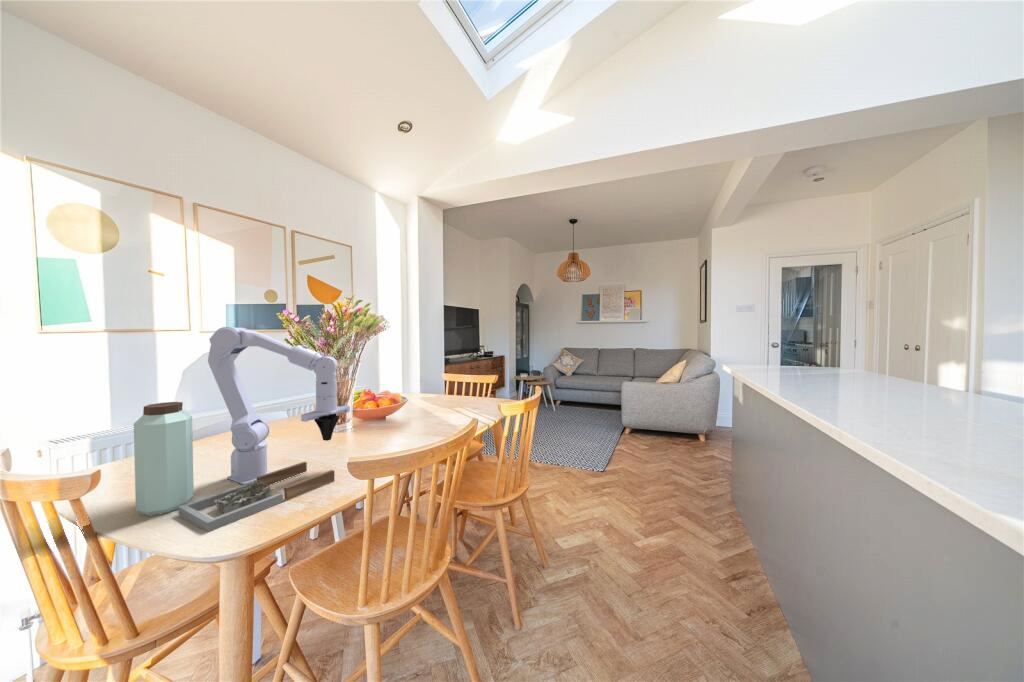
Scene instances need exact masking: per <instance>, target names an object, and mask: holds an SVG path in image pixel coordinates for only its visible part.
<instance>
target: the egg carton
mask: <svg viewBox="0 0 1024 682" xmlns="http://www.w3.org/2000/svg"><path fill="white" fill-rule="evenodd" d="M274 490H275V488H273V487H270V485H269V486H266V485H265V484H264V483H263V482H261V481H260V479H259V480H257V481H254V482H252V483H249V484H248V485H247V486H246V487H245V488H243V489H239V490H238V491H237V492H235V493H232V494H229V495H227V496H225V497H224V498H221V499H218V500H214V501H215V503H216V504H215V505H216V511H217V513H221V511H222V512H223V514H226V513H229V512H231V511H234V510H236V509H239V508H242V507H244V506H247V505H250V504H252V503H255V502H257V501H260V500H263V499H265V498H268V497H271V496H273V491H274Z"/></svg>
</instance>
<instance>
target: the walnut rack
mask: <svg viewBox="0 0 1024 682" xmlns="http://www.w3.org/2000/svg"><path fill="white" fill-rule="evenodd" d="M307 464H308V463H307V462H306V461H302V462H299V463H296V464H293V465H289V466H287V467H283V468H281V469H277V470H274V471H270V472H271V473H268V474H265V475H262V476H258V477H257V480H259V479H260V481H261V482H263V483H264V484H265V485H266V487H268V486H267V485H269V486H271V485H270V484H272V485H274V484H273V483H275V482H277V483H279V482H278V481H280V482H282V481H281V480H283V481H285V480H284V479H286V480H288V479H287V478H289V477H291V478H293V477H292V476H294V477H296V476H295V475H297V474H300V473H303V472H305V471H308V470H307V469H308V466H307ZM303 474H304V473H303ZM300 475H301V474H300ZM297 476H298V475H297ZM289 479H290V478H289ZM330 482H331V483H333V482H335V470H333V469H330V470H328V471H324V472H322V473H319V474H316V475H314V476H311V477H308V478H305V479H304V480H301V481H299V482H298V481H297V482H295V483H292V484H290V485H288V486H285V487H283V489H284V494H283V500H286V501H289V500H291V499H294V498H296V497H298V495H299V496H301V495H304V494H305V493H308V492H311V491H314V490H315V489H318V488H321V487H323V486H325V485H328V484H331V483H330ZM275 484H276V483H275ZM303 493H304V494H303ZM293 497H294V498H293Z"/></svg>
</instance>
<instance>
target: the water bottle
mask: <svg viewBox="0 0 1024 682" xmlns="http://www.w3.org/2000/svg"><path fill="white" fill-rule="evenodd" d="M183 404H184V403H183V401H182V402H181V401H168V402H167V401H166V402H158V403H157V402H156V403H152V404H151V403H150V404H147V405H145V406H143V414H142V415H141V416H140V417H139V418H138V419H137V420H136V421H135V422H134V423H133V446H134V447H133V452H134V453H133V454H134V455H133V456H134V488H135V493H134V494H135V510H136V511H137V512H139V513H140V514H142V515H145V516H148V515H149V517H150V515H152V516H156V515H155V514H158V515H161V514H160V513H164V514H167V513H166V512H169V513H171V512H173V511H172V510H174V511H176V510H179V509H178V508H179V506H182V505H185V504H188V503H190V501H189V500H191V499H192V498H193V497H194V495H195V494H194V491H195V490H194V489H195V488H194V454H193V453H194V448H193V447H194V445H193V442H194V441H193V416H192V415H190V414H189V413H188V412H186V411H184V410H183ZM175 509H176V510H175ZM170 511H171V512H170Z"/></svg>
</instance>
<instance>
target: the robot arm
mask: <svg viewBox="0 0 1024 682" xmlns="http://www.w3.org/2000/svg"><path fill="white" fill-rule="evenodd" d="M209 343H210V347H209V352H208V357H207V363H208V366H209V368H210V370H211V373H212V375H213V376H214V379H215V382H216V384H217V386H218V389H219V391H220V394H221V396H222V398H223V401H224V403H225V405H226V408H227V410H228V412H229V414H230V417H231V419H232V421H231V425H230V431H231V434H232V435H231V444H232V446H233V447H234V449H233V450H232V452H231V454H230V475H228V476H227V477H226V478H227V479H228V480H230V481H234V482H236V483H238V484H240V485H245V484H248V483H251V482H254V481H257V477H258V476H262V475H265V474H268V473H271V472H272V471H268V448H267V447H268V444H267V441H266V438H268V436H269V434H270V426H269V425H268V424H267V422H265V421H264V420H263V418H262V416H261V415H260V414H259V413H257V412H256V411H255V410H254V407H253V404H252V403H251V400H250V398H249V395H248V393H247V390H246V388H245V386H244V384H243V381H242V379H241V376H240V374H239V372H238V369H237V366H236V364H235V360H237V358H238V357H239V355H240V354H241V353H242V352H243V351H244V350H245V349H247V348H248V347H249V348H250V347H259V348H262V349H264V350H268V351H270V352H272V353H273V352H274V353H275V354H278V355H282V356H285V357H286V358H287V360H288V362H289V363H290V364H293V365H296V366H297V367H301V368H303V369H305V370H308V371H313V373H314V374H315V410H313V411H310V412H305V413H303V414H300V421H301V422H303V423H305V422H309V421H312V420H313V421H314V423H316V425H317V426H318V428H319V431H320V434H321V437H322V440H323V441H325V442H328V441H331V440H332V437H333V433H334V430H335V427H336V426H337V425H336V424H337V423H338V422H339V421H340V416H339V414H343V413H350V407H351V406H350V405H340V406H338V397H337V396H338V381H337V372H336V371H337V369H338V367H339V363H338V361H337V359H336V358H335V357H333V356H332V355H325V352H322V351H321V352H318V351H315V350H313V349H310V348H309V346H308V345H307V344H303V345H301V344H298V345H295V346H291V345H289V344H287V343H284V342H282V341H281V340H278V339H276V338H273V337H271V336H269V335H267V334H264V333H261V332H259V331H256V330H253V329H248V328H246V327H241V326H240V327H231V326H223V327H220V328H218V329H217V330H215V332H214V333H213V334H212V335H211V337H210V338H209Z"/></svg>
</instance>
